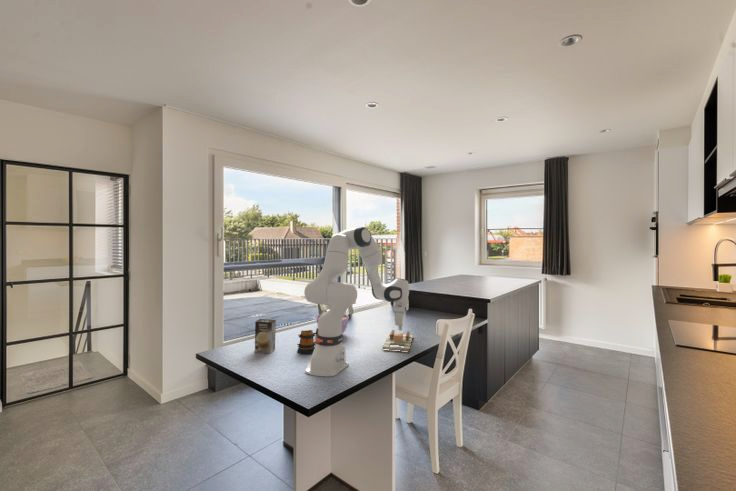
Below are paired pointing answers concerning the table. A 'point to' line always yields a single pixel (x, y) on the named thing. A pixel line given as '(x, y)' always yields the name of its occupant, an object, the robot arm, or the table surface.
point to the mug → (307, 342)
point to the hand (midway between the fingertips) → (400, 329)
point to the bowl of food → (344, 321)
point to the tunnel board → (406, 343)
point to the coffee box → (265, 335)
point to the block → (398, 338)
